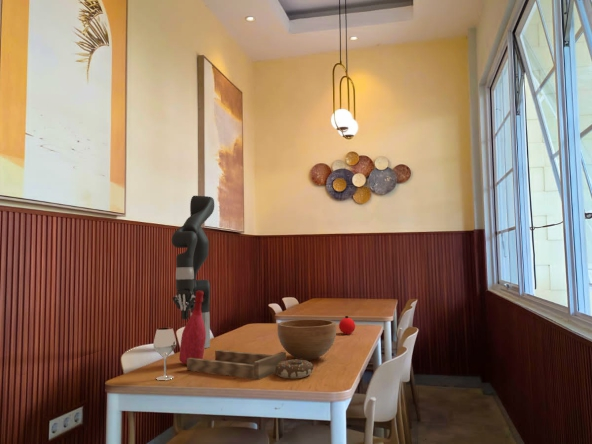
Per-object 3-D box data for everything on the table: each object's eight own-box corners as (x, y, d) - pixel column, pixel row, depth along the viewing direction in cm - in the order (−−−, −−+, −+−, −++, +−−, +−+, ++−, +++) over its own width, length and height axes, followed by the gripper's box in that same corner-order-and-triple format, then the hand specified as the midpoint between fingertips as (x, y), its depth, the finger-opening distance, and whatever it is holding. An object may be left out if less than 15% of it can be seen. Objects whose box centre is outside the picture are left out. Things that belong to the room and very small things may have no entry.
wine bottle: (196, 367, 187) (206, 294, 186) (174, 362, 189) (183, 290, 188) (206, 360, 196) (215, 291, 196) (184, 356, 198) (193, 287, 198)
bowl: (343, 354, 203) (342, 319, 205) (328, 367, 180) (327, 328, 181) (289, 352, 212) (289, 318, 213) (269, 364, 188) (268, 326, 189)
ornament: (356, 335, 252) (355, 316, 253) (339, 335, 253) (339, 317, 253) (354, 332, 261) (353, 314, 262) (338, 333, 262) (338, 315, 262)
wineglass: (156, 376, 173) (156, 327, 175) (178, 375, 174) (178, 326, 175) (151, 381, 165) (151, 330, 167) (174, 380, 166) (174, 329, 167)
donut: (300, 382, 160) (300, 367, 161) (268, 377, 167) (268, 363, 168) (320, 373, 172) (320, 359, 173) (289, 369, 180) (289, 356, 180)
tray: (187, 370, 181) (186, 354, 181) (218, 360, 197) (218, 346, 198) (258, 379, 164) (258, 362, 165) (286, 368, 181) (286, 352, 181)
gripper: (167, 278, 197) (167, 319, 195) (190, 278, 190) (190, 321, 189) (179, 277, 203) (180, 317, 202) (202, 277, 197) (203, 318, 195)
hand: (185, 319), depth 195 cm, fingers closed
